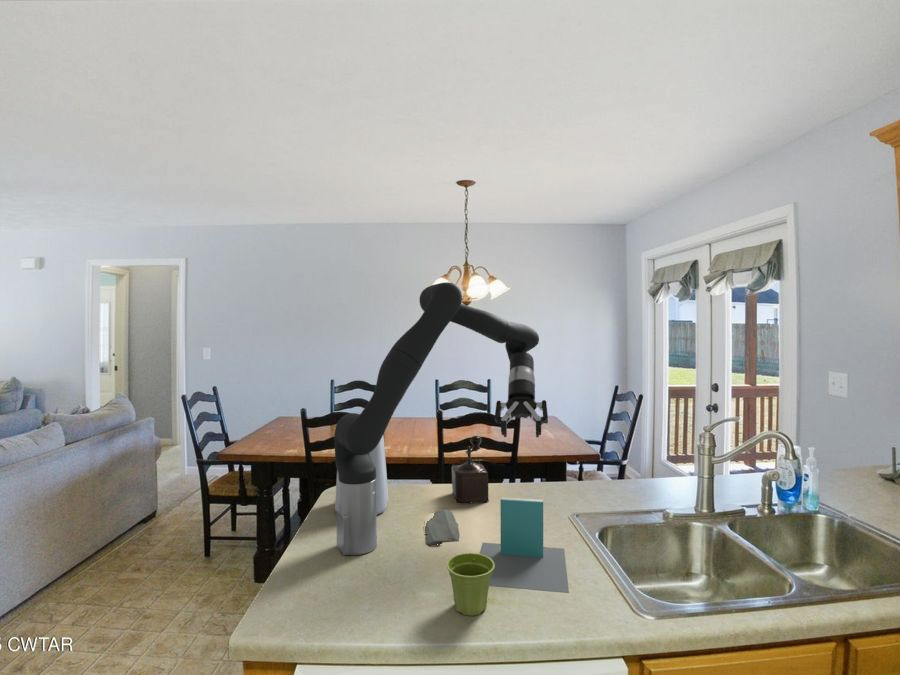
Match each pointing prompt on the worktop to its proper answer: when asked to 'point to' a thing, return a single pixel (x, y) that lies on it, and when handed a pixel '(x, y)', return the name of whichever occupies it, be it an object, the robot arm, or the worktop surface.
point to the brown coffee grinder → (470, 478)
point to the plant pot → (470, 581)
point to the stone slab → (442, 528)
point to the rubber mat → (528, 569)
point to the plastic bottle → (381, 478)
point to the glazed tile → (522, 527)
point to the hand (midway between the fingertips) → (521, 435)
